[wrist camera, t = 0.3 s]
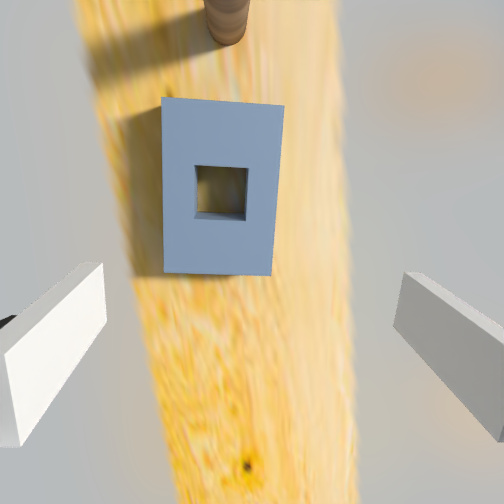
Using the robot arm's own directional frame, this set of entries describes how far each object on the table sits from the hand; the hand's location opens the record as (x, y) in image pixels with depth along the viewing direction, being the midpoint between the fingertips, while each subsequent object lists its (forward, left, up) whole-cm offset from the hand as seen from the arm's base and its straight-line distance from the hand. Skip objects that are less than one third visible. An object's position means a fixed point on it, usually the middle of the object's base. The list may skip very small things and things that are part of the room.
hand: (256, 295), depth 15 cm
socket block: (-2, -2, -27) cm, 27 cm away
